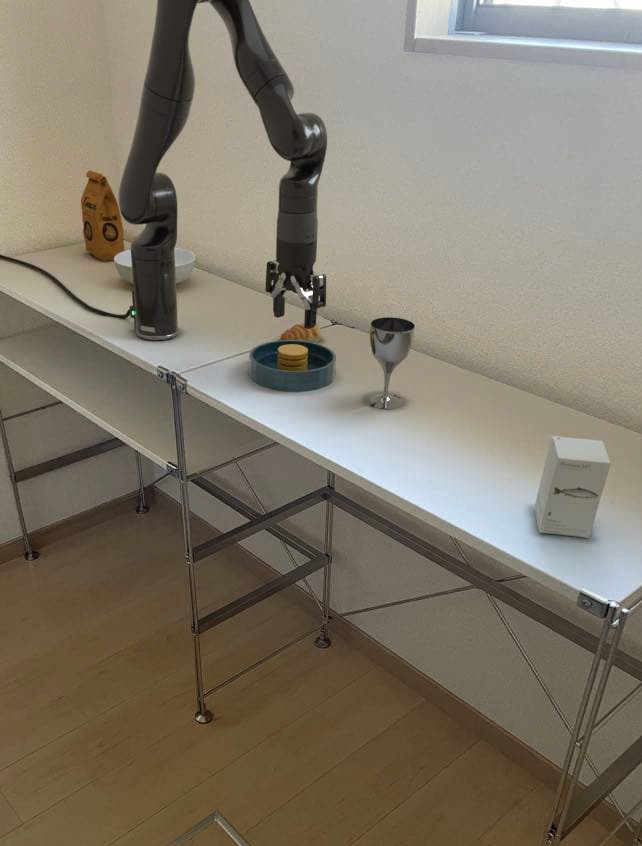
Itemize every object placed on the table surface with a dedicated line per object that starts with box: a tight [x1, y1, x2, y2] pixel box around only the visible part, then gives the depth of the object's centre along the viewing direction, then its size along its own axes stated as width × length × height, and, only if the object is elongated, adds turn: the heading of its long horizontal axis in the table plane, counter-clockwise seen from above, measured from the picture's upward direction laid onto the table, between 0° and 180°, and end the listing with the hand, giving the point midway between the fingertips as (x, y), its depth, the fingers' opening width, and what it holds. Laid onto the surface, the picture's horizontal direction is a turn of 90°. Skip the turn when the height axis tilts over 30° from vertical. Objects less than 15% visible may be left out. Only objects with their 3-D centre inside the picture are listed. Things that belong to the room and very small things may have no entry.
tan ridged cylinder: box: [277, 344, 308, 371], centre depth 165 cm, size 6×6×5 cm
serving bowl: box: [113, 247, 196, 285], centre depth 215 cm, size 21×21×7 cm
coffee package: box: [80, 170, 125, 262], centre depth 231 cm, size 10×12×22 cm
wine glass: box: [369, 316, 416, 410], centre depth 154 cm, size 8×8×15 cm
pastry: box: [280, 322, 324, 343], centre depth 182 cm, size 9×7×4 cm
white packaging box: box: [533, 435, 612, 539], centre depth 119 cm, size 7×7×13 cm
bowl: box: [248, 339, 337, 393], centre depth 165 cm, size 17×17×4 cm
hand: (294, 322), depth 160 cm, fingers open, 8 cm apart
